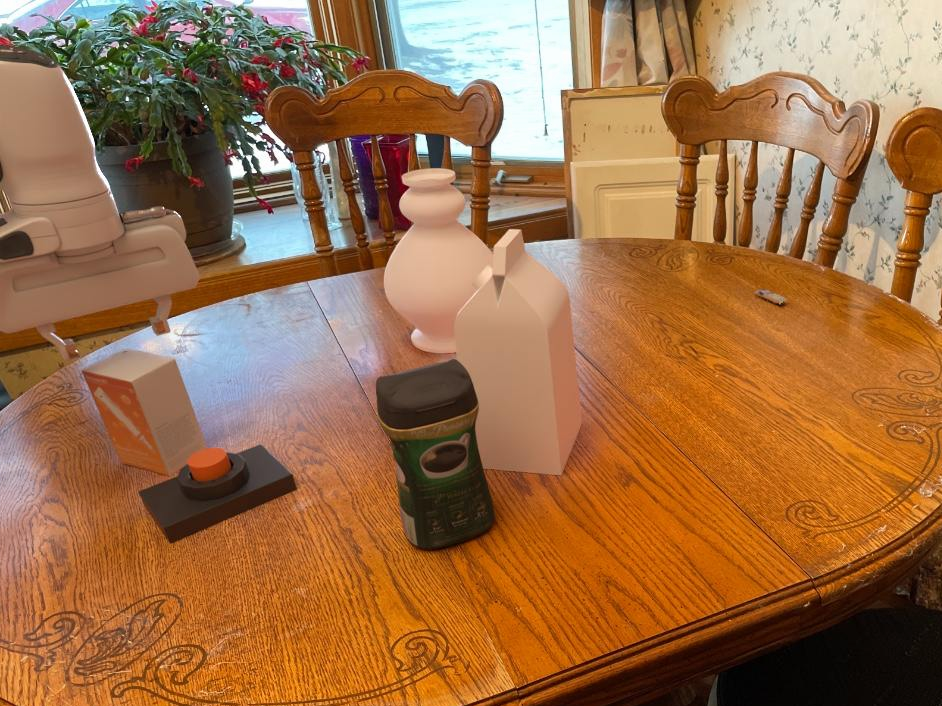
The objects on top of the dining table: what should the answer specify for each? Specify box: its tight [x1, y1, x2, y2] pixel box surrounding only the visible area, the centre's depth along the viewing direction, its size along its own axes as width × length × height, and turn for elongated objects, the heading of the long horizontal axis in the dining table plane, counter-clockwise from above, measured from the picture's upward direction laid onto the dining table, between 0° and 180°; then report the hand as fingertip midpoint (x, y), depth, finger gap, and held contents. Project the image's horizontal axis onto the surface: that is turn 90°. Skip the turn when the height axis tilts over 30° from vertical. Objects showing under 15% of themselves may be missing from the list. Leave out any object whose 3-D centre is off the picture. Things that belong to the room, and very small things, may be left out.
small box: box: [81, 348, 208, 477], centre depth 93 cm, size 8×6×13 cm
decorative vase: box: [383, 167, 493, 354], centre depth 117 cm, size 18×18×25 cm
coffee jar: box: [375, 358, 496, 551], centre depth 78 cm, size 10×8×19 cm
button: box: [188, 447, 231, 482], centre depth 86 cm, size 4×4×2 cm
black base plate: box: [138, 443, 297, 544], centre depth 88 cm, size 14×9×4 cm, turn 132°
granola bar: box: [753, 288, 788, 305], centre depth 133 cm, size 7×2×1 cm, turn 33°
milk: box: [454, 228, 583, 476], centre depth 89 cm, size 12×12×26 cm
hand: (118, 344), depth 88 cm, fingers open, 8 cm apart
